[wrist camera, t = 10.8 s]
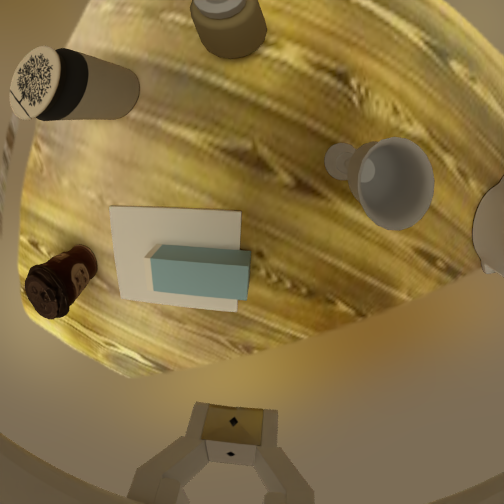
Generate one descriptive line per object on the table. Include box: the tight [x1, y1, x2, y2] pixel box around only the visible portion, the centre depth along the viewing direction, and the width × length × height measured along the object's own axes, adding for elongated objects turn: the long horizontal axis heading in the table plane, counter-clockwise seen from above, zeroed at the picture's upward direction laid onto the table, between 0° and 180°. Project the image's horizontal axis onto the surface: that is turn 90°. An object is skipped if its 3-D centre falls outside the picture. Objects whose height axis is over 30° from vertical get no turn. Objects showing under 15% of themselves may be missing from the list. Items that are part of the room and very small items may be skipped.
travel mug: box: [10, 46, 139, 121], centre depth 25 cm, size 8×8×18 cm
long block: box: [144, 244, 251, 300], centre depth 40 cm, size 5×5×14 cm
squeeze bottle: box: [190, 0, 267, 59], centre depth 22 cm, size 8×8×18 cm
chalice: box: [325, 137, 434, 230], centre depth 28 cm, size 7×7×18 cm
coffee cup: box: [25, 244, 97, 319], centre depth 38 cm, size 9×8×13 cm
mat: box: [109, 206, 242, 312], centre depth 43 cm, size 20×16×1 cm
